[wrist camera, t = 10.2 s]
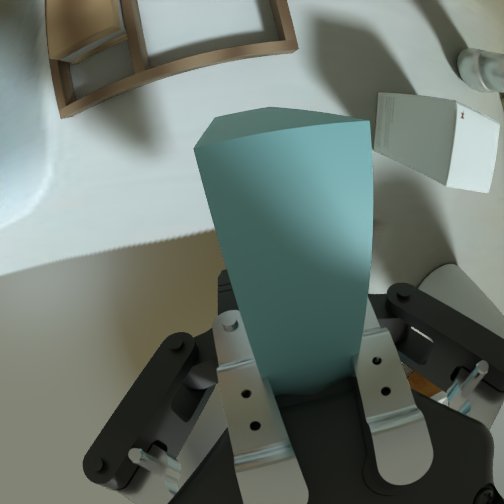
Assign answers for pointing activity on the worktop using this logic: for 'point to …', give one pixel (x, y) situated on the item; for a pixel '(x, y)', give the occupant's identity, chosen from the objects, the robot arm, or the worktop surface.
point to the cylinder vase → (463, 297)
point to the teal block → (294, 236)
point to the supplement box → (438, 139)
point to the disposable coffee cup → (426, 387)
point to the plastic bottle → (482, 70)
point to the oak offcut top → (79, 24)
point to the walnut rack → (147, 75)
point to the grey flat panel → (100, 41)
